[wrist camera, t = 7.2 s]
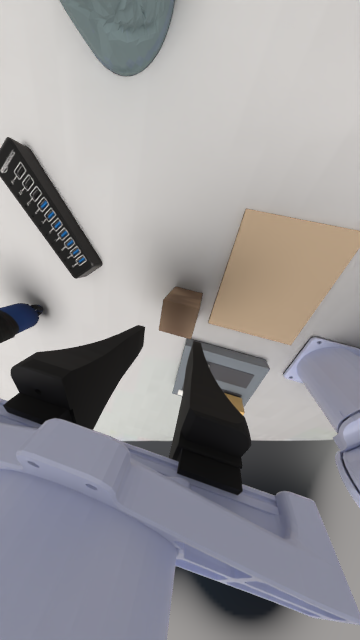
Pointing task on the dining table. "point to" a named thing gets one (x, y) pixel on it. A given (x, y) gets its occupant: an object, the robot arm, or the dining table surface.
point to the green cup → (122, 30)
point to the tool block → (180, 312)
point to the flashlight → (17, 319)
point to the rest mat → (280, 274)
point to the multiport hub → (46, 208)
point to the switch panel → (227, 370)
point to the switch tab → (236, 402)
